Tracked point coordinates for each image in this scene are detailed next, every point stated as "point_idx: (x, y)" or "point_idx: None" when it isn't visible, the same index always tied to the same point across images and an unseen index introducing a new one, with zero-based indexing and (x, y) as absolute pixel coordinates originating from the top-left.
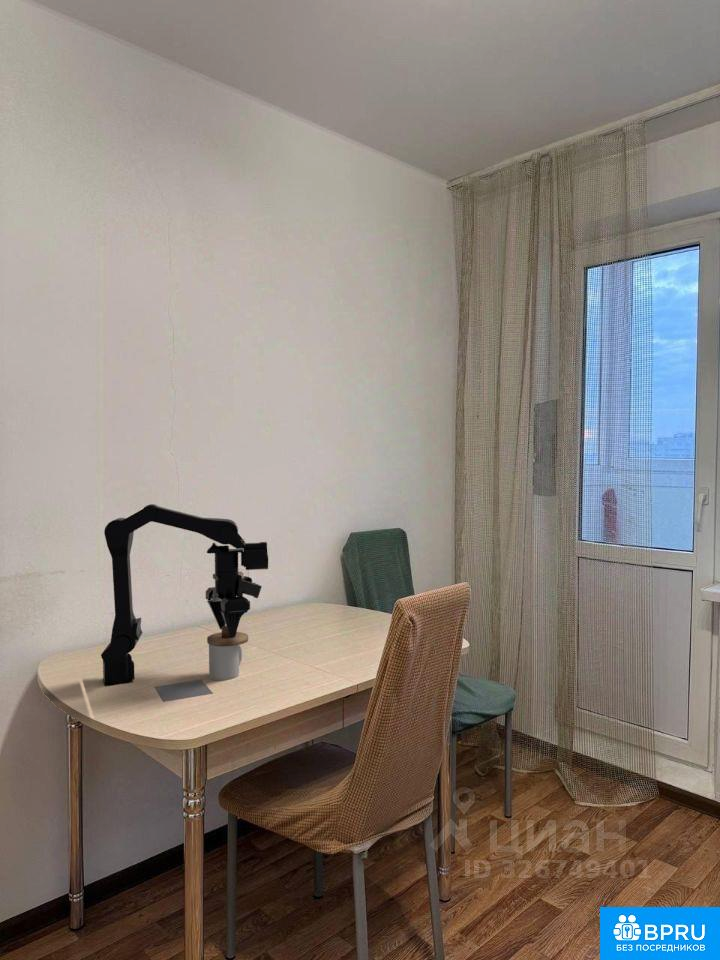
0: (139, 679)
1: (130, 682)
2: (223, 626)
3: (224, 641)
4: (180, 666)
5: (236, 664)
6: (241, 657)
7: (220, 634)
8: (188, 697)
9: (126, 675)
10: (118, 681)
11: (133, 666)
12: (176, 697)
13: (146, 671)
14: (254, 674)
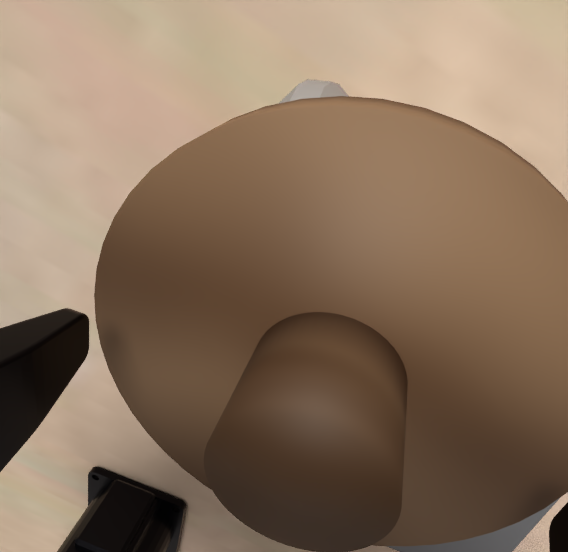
0: (142, 461)
1: (183, 515)
2: (237, 500)
3: (478, 507)
4: (52, 280)
5: None
6: (342, 93)
7: (177, 363)
8: (532, 525)
9: (154, 538)
10: (168, 543)
11: (128, 543)
12: (486, 545)
13: (58, 399)
14: (496, 32)
